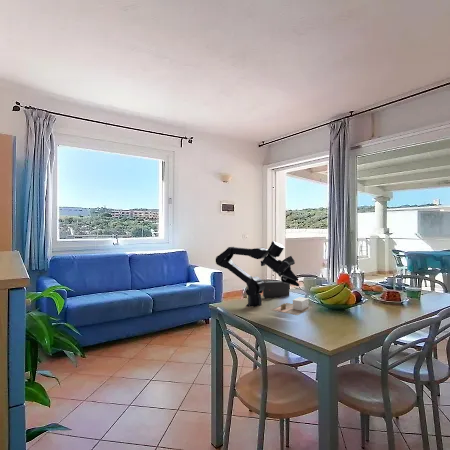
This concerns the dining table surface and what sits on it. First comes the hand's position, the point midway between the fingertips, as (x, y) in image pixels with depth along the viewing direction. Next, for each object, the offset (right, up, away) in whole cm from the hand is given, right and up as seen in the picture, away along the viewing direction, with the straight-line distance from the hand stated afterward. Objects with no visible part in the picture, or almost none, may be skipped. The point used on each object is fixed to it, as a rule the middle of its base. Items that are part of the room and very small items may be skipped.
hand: (298, 283), depth 155 cm
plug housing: (+3, -14, +8) cm, 16 cm away
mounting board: (-2, -15, +5) cm, 16 cm away
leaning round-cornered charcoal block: (-5, -15, +33) cm, 37 cm away
